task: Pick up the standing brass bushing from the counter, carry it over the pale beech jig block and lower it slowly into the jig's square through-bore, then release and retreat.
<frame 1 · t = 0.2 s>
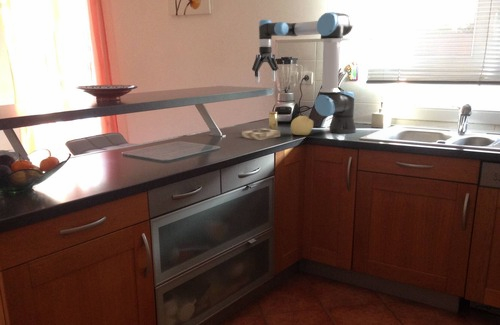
hand: (265, 81, 276), 28 cm above the worktop, fingers open, 13 cm apart
bushing: (273, 132, 256), on the worktop
jig: (261, 136, 244), on the worktop
pale yellow round lump: (301, 135, 247), on the worktop
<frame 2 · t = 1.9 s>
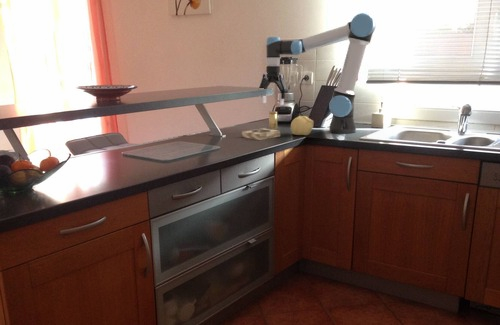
hand: (272, 103, 252), 17 cm above the worktop, fingers open, 13 cm apart
nothing on the worktop moved.
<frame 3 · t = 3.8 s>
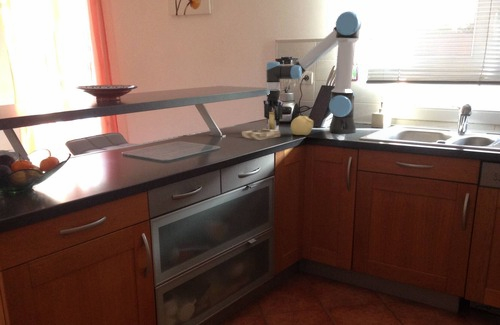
hand: (273, 130, 256), 1 cm above the worktop, fingers closed on bushing, 5 cm apart
bushing: (273, 132, 256), on the worktop, touching gripper
everything else where it was.
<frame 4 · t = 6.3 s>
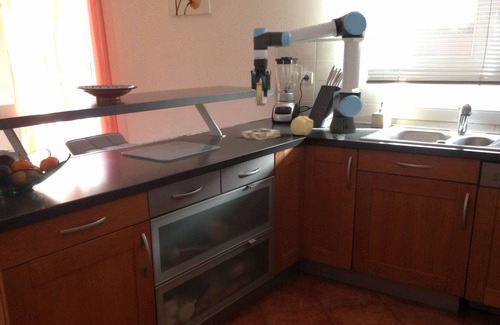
hand: (260, 102, 240), 19 cm above the worktop, fingers closed on bushing, 5 cm apart
bushing: (260, 105, 240), point 17 cm above the worktop, touching gripper
everything else where it was.
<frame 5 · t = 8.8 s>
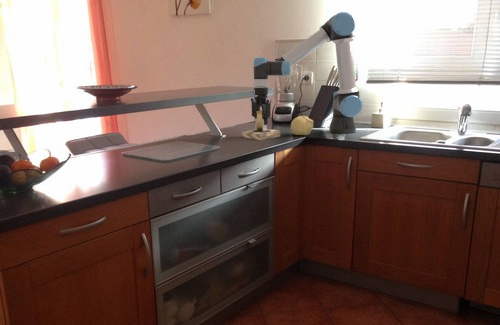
hand: (261, 130, 243), 4 cm above the worktop, fingers closed on bushing, jig, 4 cm apart
bushing: (261, 132, 243), point 2 cm above the worktop, touching gripper
everything else where it was.
when the fingers open (4 cm above the worktop, at t = 8.9 s): bushing drops 2 cm, resting in jig.
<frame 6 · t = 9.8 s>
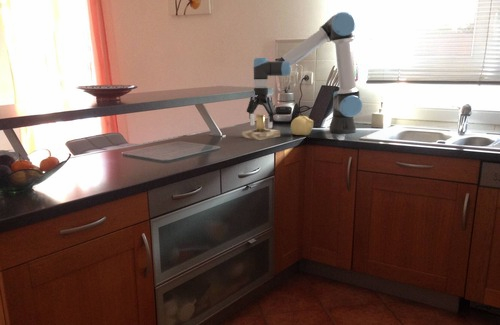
hand: (261, 126, 242), 6 cm above the worktop, fingers open, 13 cm apart
bushing: (260, 136, 244), resting in jig
everything else where it was.
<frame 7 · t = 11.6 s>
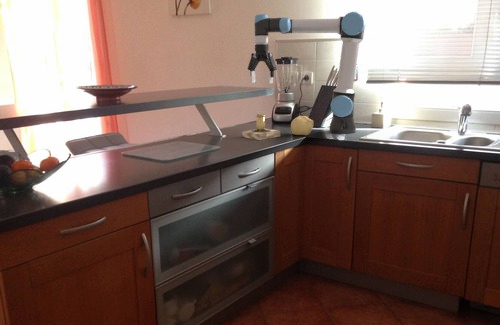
hand: (262, 83, 249), 28 cm above the worktop, fingers open, 13 cm apart
nothing on the worktop moved.
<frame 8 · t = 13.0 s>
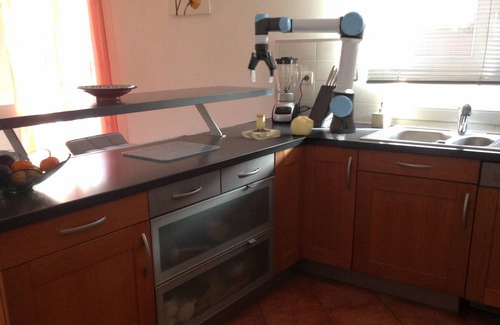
hand: (261, 82, 250), 29 cm above the worktop, fingers open, 13 cm apart
nothing on the worktop moved.
at the end: bushing 0.2 cm off-centre on the jig, point 0.0 cm above the jig's base; bushing tilted 0°; the gripper is holding nothing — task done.
